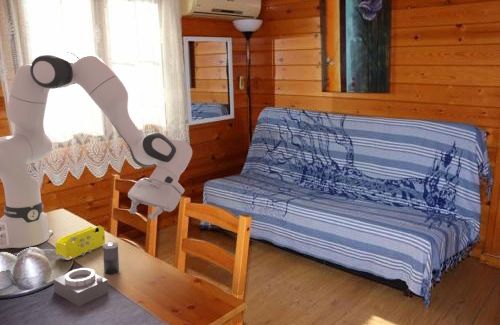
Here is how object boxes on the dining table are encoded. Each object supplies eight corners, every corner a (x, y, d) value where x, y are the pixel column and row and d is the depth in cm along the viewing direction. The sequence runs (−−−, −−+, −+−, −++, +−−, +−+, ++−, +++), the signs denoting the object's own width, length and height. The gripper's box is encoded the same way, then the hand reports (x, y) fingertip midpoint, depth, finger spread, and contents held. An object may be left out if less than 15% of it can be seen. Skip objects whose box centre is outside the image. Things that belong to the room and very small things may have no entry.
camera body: (54, 292, 116) (52, 274, 114) (83, 279, 123) (82, 262, 122) (79, 306, 109) (77, 287, 108) (108, 292, 116) (107, 274, 115)
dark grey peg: (101, 272, 128) (99, 244, 126) (113, 266, 131) (112, 240, 130) (110, 276, 125) (108, 248, 124) (122, 270, 129) (120, 244, 127)
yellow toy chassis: (67, 263, 133) (66, 239, 132) (56, 259, 136) (54, 235, 134) (106, 246, 147) (105, 224, 145) (94, 243, 150) (93, 221, 148)
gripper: (137, 171, 144) (114, 204, 139) (178, 181, 133) (156, 217, 127) (147, 181, 149) (126, 213, 143) (188, 191, 137) (167, 227, 132)
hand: (140, 215), depth 135 cm, fingers open, 8 cm apart
